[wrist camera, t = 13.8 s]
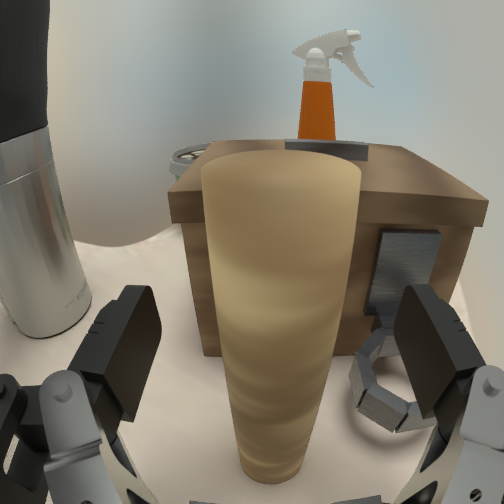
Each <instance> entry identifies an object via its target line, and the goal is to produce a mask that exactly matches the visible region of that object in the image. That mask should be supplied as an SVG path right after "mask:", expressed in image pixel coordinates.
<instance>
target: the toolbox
mask: <svg viewBox="0 0 504 504" xmlns="http://www.w3.org/2000/svg"><path fill="white" fill-rule="evenodd" d="M257 150H300V151H309V152H316V153H322V154H327V155H331V156H335V157H338V158H341V159H344V160H347V161H349V162H351V163H353V164H355V165H356V166H357V167H358V168H359V169H360V170H361V183H360V193H359V203H358V211H357V220H356V228H355V235H354V242H353V249H352V256H351V262H350V268H349V275H348V280H347V286H346V292H345V297H344V303H343V308H342V313H341V318H340V323H339V328H338V332H337V337H336V341H335V346H334V350H333V355H332V356H340V355H355V354H356V351H357V350H358V349H359V348H360V347H361V346H362V345H363V344H364V343H365V341H366V340H367V339H368V338H369V337H370V336H371V331H370V330H371V327H372V324H373V320H374V317H375V316H364V313H363V307H364V303H365V299H366V295H367V290H368V286H369V281H370V277H371V272H372V267H373V262H374V257H375V252H376V247H377V241H378V236H379V230H380V228H392V229H431V230H438V231H439V232H440V233H441V234H442V237H441V241H440V244H439V248H438V252H437V255H436V259H435V262H434V266H433V269H432V272H431V275H430V278H429V282H428V284H429V285H430V286H431V287H432V288H433V290H434V291H435V293H436V294H437V296H438V298H439V299H443V300H444V301H445V302H447V303H449V301H450V298H451V296H452V293H453V291H454V288H455V285H456V282H457V280H458V277H459V274H460V271H461V268H462V265H463V262H464V259H465V256H466V253H467V250H468V247H469V243H470V239H471V236H472V232H473V229H474V227H482V226H483V222H484V219H485V215H486V211H487V207H488V202H489V201H488V200H487V199H486V198H484V197H483V196H482V195H480V194H479V193H477V192H476V191H474V190H473V189H471V188H470V187H468V186H467V185H465V184H464V183H462V182H461V181H459V180H457V179H456V178H455V177H453V176H452V175H450V174H448V173H447V172H445V171H443V170H442V169H440V168H439V167H437V166H435V165H434V164H432V163H430V162H428V161H427V160H425V159H423V158H421V157H419V156H418V155H416V154H414V153H413V152H411V151H409V150H407V149H405V148H403V147H400V146H390V145H381V144H369V143H364V142H354V141H337V140H315V139H285V140H230V141H229V140H228V141H213V142H212V143H211V144H210V145H209V146H208V147H207V148H206V149H205V150H204V151H203V153H202V154H201V155H200V156H199V157H198V158H197V159H196V160H195V161H194V162H193V163H192V165H191V166H190V167H189V168H188V169H187V170H186V171H185V172H184V174H183V175H182V176H181V177H180V178H179V179H178V180H177V181H176V183H175V184H174V185H173V186H172V187H171V188H170V190H169V191H168V200H169V207H170V214H171V220H172V223H181V225H182V232H183V239H184V245H185V252H186V258H187V265H188V271H189V277H190V283H191V289H192V294H193V300H194V306H195V311H196V316H197V322H198V327H199V332H200V337H201V342H202V347H203V352H204V356H219V357H222V350H221V343H220V336H219V329H218V322H217V315H216V307H215V300H214V292H213V284H212V276H211V268H210V260H209V251H208V242H207V233H206V224H205V214H204V204H203V194H202V183H201V168H202V167H203V166H204V165H205V164H206V163H208V162H209V161H211V160H214V159H216V158H219V157H222V156H226V155H230V154H235V153H240V152H247V151H257Z"/></svg>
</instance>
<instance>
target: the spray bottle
mask: <svg viewBox="0 0 504 504" xmlns="http://www.w3.org/2000/svg"><path fill="white" fill-rule="evenodd" d="M360 39H361V35H360V32H359V31H357V30H352V31H351V30H350V31H347V30H346V29H345V30H340V31H336V32H331V33H328V34H325V35H322V36H319V37H317V38H314V39H312V40H309V41H307V42H305V43H304V44H302V45H301V46H299V47H298V48H296V49H295V50H294V51H293V52H292V53H293V54H294V55H296V56H298V57H301V58H304V59H306V67H304V82H303V91H302V102H301V112H300V122H299V131H298V139H315V140H336V139H335V121H334V108H333V95H332V85H331V69H329V60H328V59H329V58H332V57H333V58H336V59H338V60H341V62H342V63H345V64H346V66H347V67H348V68H349V69H350V70H351V71H352V72H353V73H354V74H355V75H356V76H357V77H358V78H359V79H360V80H362V81H363V82H364V83H366V84H367V85H369V86H371V87H374V86H373V85H372V84H371V83H370V82H369V80H368V79H367V77H366V76H365V75H364V73H363V71H362V70H361V69H360V67H359V65H358V63H357V61H356V60H355V58H354V56H353V51H354V47H353V46H352V45H351V42H353V41H357V40H360ZM350 41H351V42H350ZM337 52H342V53H343V54H342V56H341V55H339V54H336V53H337Z"/></svg>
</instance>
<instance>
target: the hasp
mask: <svg viewBox="0 0 504 504" xmlns="http://www.w3.org/2000/svg"><path fill="white" fill-rule="evenodd" d="M441 237H442V234H441V233H440V232H439V231H438V230H431V229H392V228H380V230H379V236H378V241H377V247H376V252H375V257H374V262H373V267H372V272H371V277H370V281H369V286H368V290H367V295H366V299H365V303H364V307H363V313H364V316H375V317H374V320H373V324H372V327H371V330H370V331H371V336H370V337H369V338H368V339H367V340H366V341H365V343H364V344H363V345H362V346H361V347H360V348H359V349H358V350H357V351H356V354H355V357H354V360H353V364H352V367H351V370H350V373H349V378H350V382H351V387H352V392H353V397H354V403H355V408H359V409H358V412H360V413H361V414H363V415H365V416H366V417H368V418H369V419H371V420H372V421H374V422H376V423H377V424H379V425H381V426H382V427H384V428H385V429H387V430H389V431H390V432H392V433H393V431H394V430H395V432H396V433H400V432H405V431H410V430H415V429H420V428H424V427H428V426H432V425H434V424H435V423H437V419H436V417H433V418H429V419H424V420H423V419H422V415H421V412H420V409H419V406H418V403H417V401H415V402H410V403H408V402H407V401H405V400H403V399H401V398H400V397H398V396H396V395H395V394H393V393H391V392H390V391H388V390H386V389H384V388H383V387H381V386H379V385H378V384H377V381H376V377H375V374H374V370H373V366H372V364H373V363H374V362H375V361H376V359H377V358H378V357H385V356H395V355H401V354H400V352H399V349H398V347H397V344H396V341H395V339H394V332H393V327H394V321H395V318H396V315H397V312H398V309H399V305H400V302H401V299H402V296H403V292H404V290H405V288H406V286H407V285H420V284H428V282H429V278H430V275H431V272H432V269H433V266H434V262H435V259H436V255H437V252H438V248H439V244H440V241H441Z"/></svg>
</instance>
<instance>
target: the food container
mask: <svg viewBox="0 0 504 504" xmlns="http://www.w3.org/2000/svg"><path fill="white" fill-rule="evenodd" d="M210 144H211V143H205V144H198V145H193V146H188V147H185V148H182V149H179V150H177V151H175V152H174V153H173V155H172V158H171V162H170V172H171V173H172V174H174V175H175V176H176V181H177V180H178V179H179V178H180V177H181V176H182V175H183V174H184V172H185V171H186V170H187V169H188V168H189V167H190V166H191V165H192V163H193V162H194V161H195V160H196V159H197V158H198V157H199V156H200V155H201V154H202V153H203V151H204V150H205V149H206V148H207V147H208V146H209V145H210Z"/></svg>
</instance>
